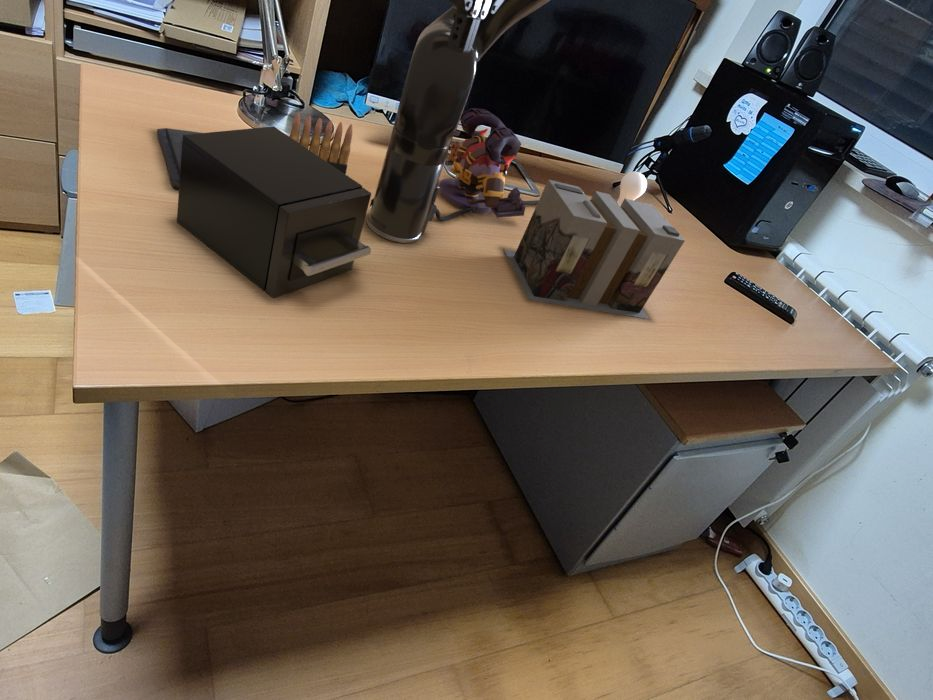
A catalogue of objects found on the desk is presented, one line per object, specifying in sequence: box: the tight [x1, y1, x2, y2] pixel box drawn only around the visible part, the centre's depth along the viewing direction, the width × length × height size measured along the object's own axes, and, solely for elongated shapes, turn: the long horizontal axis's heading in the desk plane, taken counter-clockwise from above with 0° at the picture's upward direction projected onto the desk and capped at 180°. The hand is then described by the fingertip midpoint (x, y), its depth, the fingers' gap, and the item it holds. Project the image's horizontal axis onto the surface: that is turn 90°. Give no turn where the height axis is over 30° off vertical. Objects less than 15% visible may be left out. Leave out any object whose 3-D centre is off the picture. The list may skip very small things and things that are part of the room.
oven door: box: [265, 187, 372, 299], centre depth 82 cm, size 5×15×13 cm, turn 145°
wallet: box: [156, 127, 200, 191], centre depth 102 cm, size 20×2×15 cm
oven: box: [176, 126, 364, 292], centre depth 86 cm, size 18×15×13 cm
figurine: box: [438, 107, 526, 218], centre depth 122 cm, size 20×14×17 cm
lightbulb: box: [616, 171, 648, 206], centre depth 147 cm, size 6×6×11 cm
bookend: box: [503, 179, 686, 320], centre depth 109 cm, size 16×25×16 cm, turn 104°
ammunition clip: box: [288, 112, 353, 175], centre depth 105 cm, size 11×2×12 cm, turn 111°
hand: (458, 50), depth 68 cm, fingers closed
